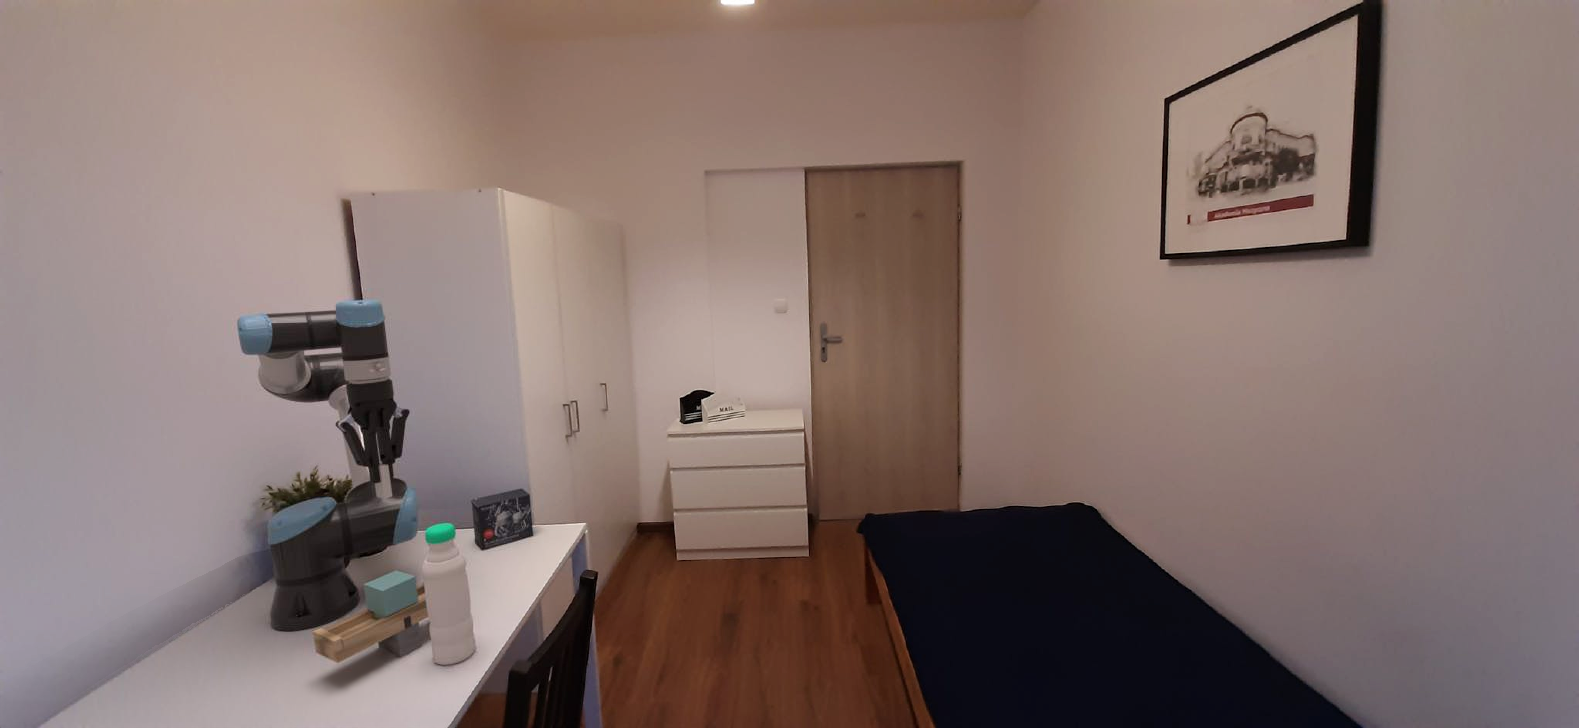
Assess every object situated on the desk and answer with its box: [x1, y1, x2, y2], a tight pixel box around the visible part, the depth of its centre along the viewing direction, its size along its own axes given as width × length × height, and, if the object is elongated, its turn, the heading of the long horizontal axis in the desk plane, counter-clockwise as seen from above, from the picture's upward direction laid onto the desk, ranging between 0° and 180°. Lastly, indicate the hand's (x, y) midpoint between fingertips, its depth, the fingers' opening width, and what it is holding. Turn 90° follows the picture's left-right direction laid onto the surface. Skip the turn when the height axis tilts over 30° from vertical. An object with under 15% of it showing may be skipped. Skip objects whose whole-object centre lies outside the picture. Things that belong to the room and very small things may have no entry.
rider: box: [363, 569, 418, 619], centre depth 118 cm, size 6×6×6 cm
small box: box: [471, 488, 534, 551], centre depth 167 cm, size 13×7×12 cm, turn 130°
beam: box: [312, 582, 429, 664], centre depth 119 cm, size 7×24×12 cm, turn 152°
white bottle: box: [421, 522, 476, 666], centre depth 115 cm, size 7×7×25 cm
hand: (384, 496), depth 126 cm, fingers closed
